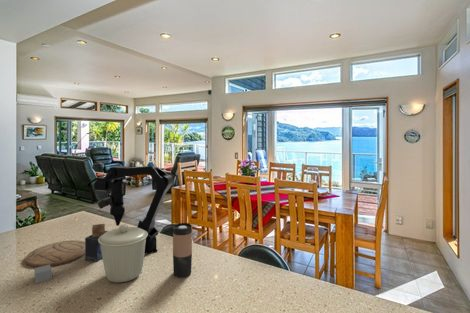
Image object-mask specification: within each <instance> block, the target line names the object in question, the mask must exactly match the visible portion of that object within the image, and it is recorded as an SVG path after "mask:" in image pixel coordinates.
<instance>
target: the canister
mask: <svg viewBox="0 0 470 313" xmlns="http://www.w3.org/2000/svg"><path fill="white" fill-rule="evenodd" d="M107 231H108V232H106V233H105V234H103V235H102V236H100V237H99V239H98V242H99V243H100V245H101V252H102V259H101V260H102V265H103V270H104V274H105V277H106V278H107V280H108V281H109V282H112V283H118V284H119V283H126V282H129V281H130V282H131V281H132V280H135V279H136V278H137V277H139V276H140V275H141V272H142V271H143V266H144V260H145V254H144V253H145V243H146V237H147V236H148V233H147V231H145V230H143V229H141V228H137V226H129V225H128V224H126V223H123V224H120V225H119V227H117V228H114V229H111V230H107Z"/></svg>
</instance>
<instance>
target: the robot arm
mask: <svg viewBox="0 0 470 313" xmlns="http://www.w3.org/2000/svg"><path fill="white" fill-rule="evenodd" d="M138 175H139V176H140V175H149V176H150V177H151V179H152V180H153V181H154V182H155V193H154V196H153V198H152V201H151V203H150V205H149V208H148V210H147V212H146V215H145V217H143V218H141V219H140V220H138V224H137V226H136V227H137V228H141V229H143V230H145V231H147V233H148V236H147V237H146V243H145V253H144V255H145V254H150V253H156V252H158V249H157V236H158V235H159V230H158V229H156V227H155V225H156V221H155V220H156V216H157V214H158V212H159V209H160V207H161V205H162V202H163V200H164V198H165V195H166V193H167V192H168V191H169V189H170V188H171V187H172V185H174V180H175V179H174V177H173V176H172V175H171V174H168V173H167V172H166V171H164V170H162V169H161V168H159V167H157V165H155V164H153V165H152V164H151V165H147V166H146V165H143V166H131V167H130V166H124V165H118V166H111V167H110V168H109V169H108V170H107V173H106V175H105V176H104V177H101V176H99V177H96V180H95V182H94V184H93V189H94V191H96V192H109V191H110V193H109V196H107V197H105V198H102V199H100V200H97V205H98V208H99V209H100V210H101V209H103V208H105V207H108V206H110V208H109V214H110V215H111V216H113V217H114V222H115V225H116V226H117V227H118V226H119V227H120V225H121V222H122V218H123V217H124V214H125V212H126V209H125V206H124V184H127V183H128V181H127V179H125V177H126V176H138Z"/></svg>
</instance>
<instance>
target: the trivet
mask: <svg viewBox="0 0 470 313" xmlns="http://www.w3.org/2000/svg"><path fill="white" fill-rule="evenodd" d="M84 257H85V241H84V240H77V239H75V240H74V239H73V240H63V241H58V242H52V243H48V244H46V245H43V246H40V247H38V248H35V249H33V250H31V251H30V252H28V253H27V255H26V256H25V258H24V259H25V264H26V265H27V266H29V267H31V268H38V267H42V266H46V265H49V264H50V266H51V268H53V267H59V266H63V265H67V264H70V263H72V262H75V261H78V260H80V259H81V258H84Z"/></svg>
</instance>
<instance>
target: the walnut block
mask: <svg viewBox="0 0 470 313" xmlns="http://www.w3.org/2000/svg"><path fill="white" fill-rule="evenodd" d="M105 231H106V224H105V223H100V224H93V225H92V227H91V235H92V237H98V236H102V235H103V234H105Z"/></svg>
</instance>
